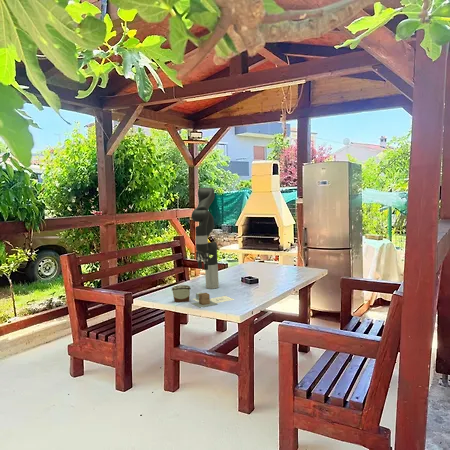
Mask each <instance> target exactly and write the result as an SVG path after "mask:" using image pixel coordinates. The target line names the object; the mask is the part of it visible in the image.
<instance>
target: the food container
mask: <svg viewBox="0 0 450 450" xmlns="http://www.w3.org/2000/svg"><path fill="white" fill-rule="evenodd" d="M171 291H172V295H173V301H174V302H176V303H188V302H190V297H191V296H190V295H191V294H190V292H191V286H190V285H188V284H187V285H186V284H178V285H175V286H172V287H171Z"/></svg>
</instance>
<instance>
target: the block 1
mask: <svg viewBox="0 0 450 450" xmlns="http://www.w3.org/2000/svg"><path fill="white" fill-rule="evenodd" d="M201 293H203V292H202V291H200V292H196V293H195V298H196V299H197V300H199V294H201Z"/></svg>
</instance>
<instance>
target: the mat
mask: <svg viewBox="0 0 450 450" xmlns="http://www.w3.org/2000/svg"><path fill="white" fill-rule="evenodd" d="M191 305H194V306H195V307H197V308H199V309H201V307H203V308H207V307H212V306H217V305H219V303H214V302H212V301H210V304H206V305H201V304H199V301H198V302H197V301H195V302H191Z"/></svg>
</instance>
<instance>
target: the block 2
mask: <svg viewBox="0 0 450 450" xmlns="http://www.w3.org/2000/svg"><path fill="white" fill-rule="evenodd" d="M210 299H211V298H210V293H208V292H202V293H201V294H199V301H198V302H199V304H201V305H206V304H210Z"/></svg>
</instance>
